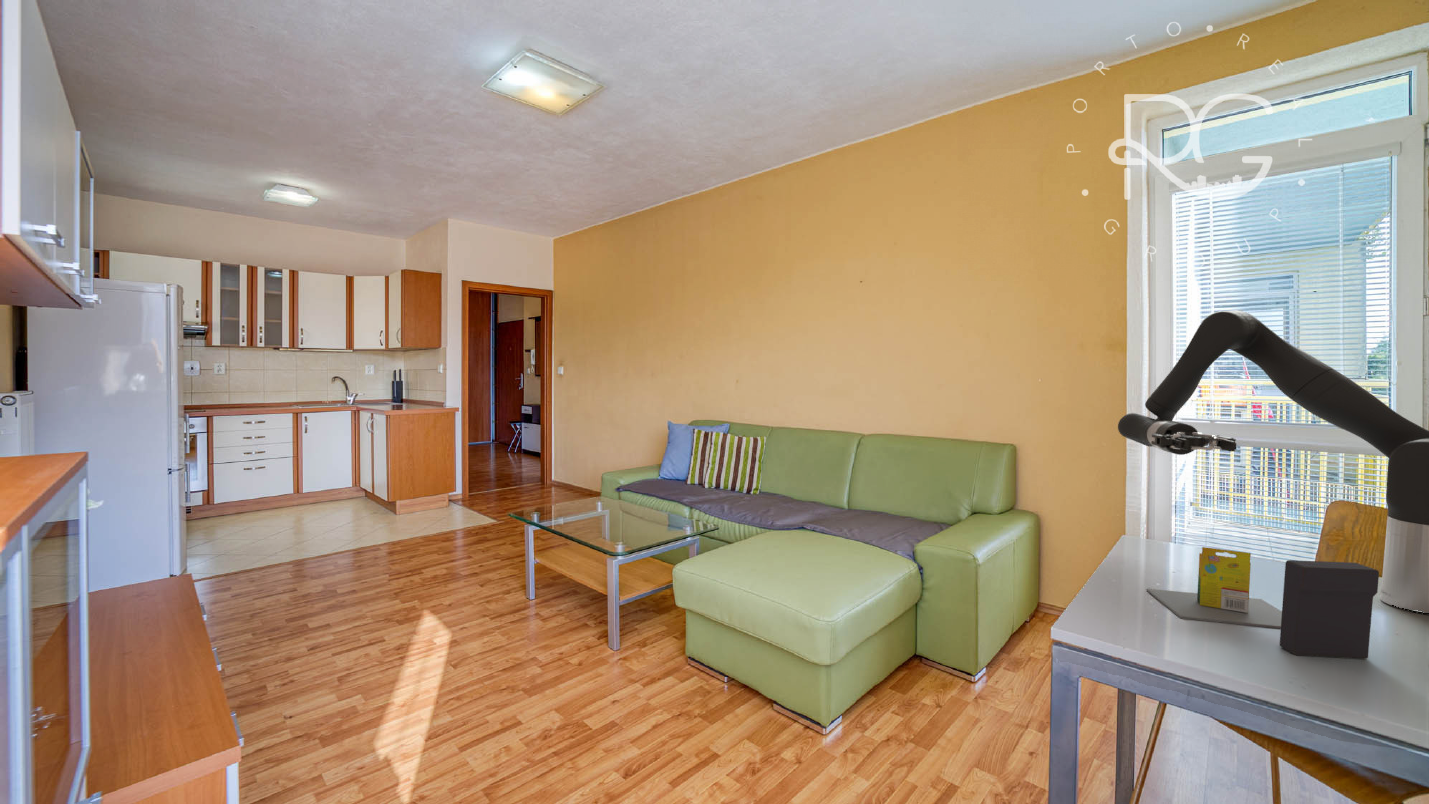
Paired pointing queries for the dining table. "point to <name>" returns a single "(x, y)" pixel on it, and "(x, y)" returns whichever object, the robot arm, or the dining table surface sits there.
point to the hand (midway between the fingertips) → (1209, 445)
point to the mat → (1218, 610)
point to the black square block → (1327, 608)
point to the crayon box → (1224, 580)
